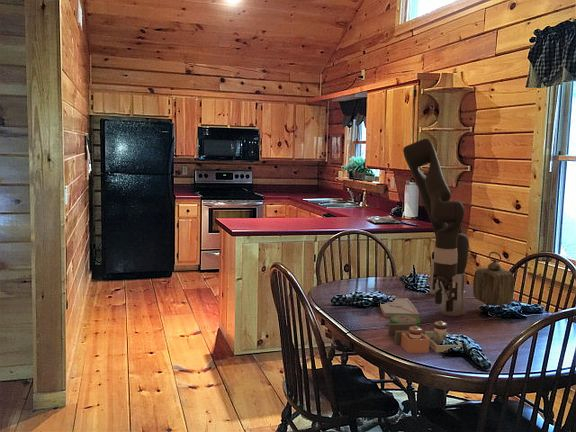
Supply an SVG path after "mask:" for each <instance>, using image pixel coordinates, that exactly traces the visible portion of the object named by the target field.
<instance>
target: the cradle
mask: <svg viewBox="0 0 576 432" xmlns="http://www.w3.org/2000/svg"><path fill="white" fill-rule="evenodd" d="M412 326H417V324H416V323H393V324H390V323H388V324H387V337H388V338H389V339H390V340H391V341H392V342H393V343H394V344H395V346H401V333H407V332H409V327H412ZM425 332H426V331H425V330H424V329H422V333H423V334H424V335H425Z"/></svg>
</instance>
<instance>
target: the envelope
mask: <svg viewBox="0 0 576 432" xmlns="http://www.w3.org/2000/svg"><path fill="white" fill-rule="evenodd" d="M394 298H395V300H394V301H393V302H387V303H385V304H381V303H380V307H379V308H381V309H380V311H381V313H382V316H383V317H384V318H391V317H392V316H396V315H410V316H414V317H417V318H419V319H420V313H419V311H418V310H417V308H416V307H415V306H414V304H413V303H412V302H411V300H410V299H409V298H407V297H394Z"/></svg>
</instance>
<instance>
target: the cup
mask: <svg viewBox="0 0 576 432" xmlns="http://www.w3.org/2000/svg"><path fill="white" fill-rule="evenodd" d="M400 347H402V348H403V349H404V351H405V352H407V354H422V353H424V354H427V353H430V346H429V338H427V337H426V336H425V335H424V334H423V333H422V336H421V339H409V332H407V333H401V345H400Z"/></svg>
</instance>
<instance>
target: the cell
mask: <svg viewBox="0 0 576 432" xmlns="http://www.w3.org/2000/svg"><path fill="white" fill-rule="evenodd" d="M433 324H434V325H433V331H434V338H432V341H434V342H435V343H436V344H437V345H440V344H441V343H442V341H443V340H445V339H446V332H447V327H448V325H447V322H445V321H443V320H438V321H435V322H434V323H433Z"/></svg>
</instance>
